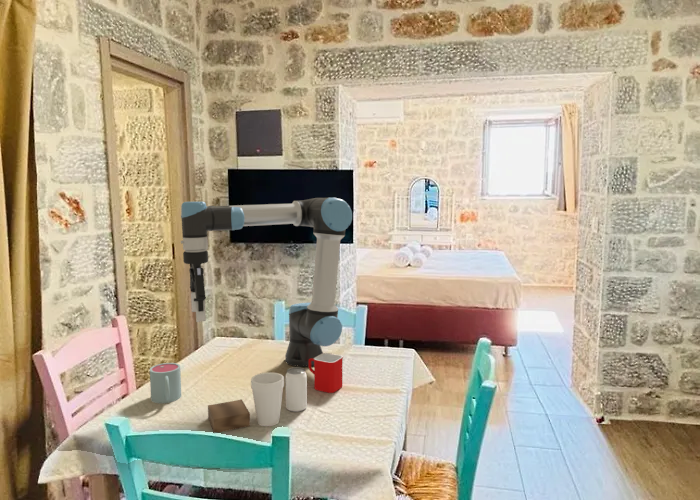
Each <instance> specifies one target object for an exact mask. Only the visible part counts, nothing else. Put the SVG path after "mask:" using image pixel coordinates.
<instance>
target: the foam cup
mask: <svg viewBox="0 0 700 500" xmlns="http://www.w3.org/2000/svg"><path fill="white" fill-rule="evenodd" d="M250 387H251V388H250V389H251V390H252V396H253V403H254V409H255V416H256V421H257V424H258V425H259V426H262V427H271V426H272V427H273V426H275V425H277V424H279V422H280V417H281V407H282V399H283V390H284V388H285V376H284V375H283V374H282V373H278V372H272V371H271V372H270V371H269V372H262V373H257V374H255V375H254V376H252V377H251V379H250Z"/></svg>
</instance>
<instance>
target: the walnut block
mask: <svg viewBox="0 0 700 500" xmlns="http://www.w3.org/2000/svg"><path fill="white" fill-rule="evenodd" d="M250 414H251V413H250V410H249V409H248V407H247V406H246V404H245V402H244V400H243V399H236V400H232V401H225V402H219V403H214V404H207V415H208V416H207V417H208V418H207V419H208V420H209V423H210V426H211V429H212V432H213V433H214V432H218V433H222V432H228V431H233V430H238V429H241V428H242V429H243V428H248V427H251V420H250V419H251V418H250V417H251V415H250Z"/></svg>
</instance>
